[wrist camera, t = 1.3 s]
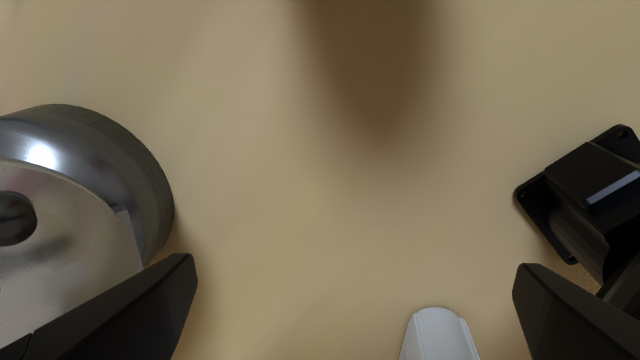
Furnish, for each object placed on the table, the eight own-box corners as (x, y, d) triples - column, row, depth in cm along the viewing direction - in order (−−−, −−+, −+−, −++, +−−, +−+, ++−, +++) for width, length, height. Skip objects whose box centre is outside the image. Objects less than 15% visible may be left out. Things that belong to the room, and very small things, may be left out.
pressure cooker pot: (152, 102, 21) (97, 125, 17) (188, 272, 26) (153, 326, 21) (-135, 107, 23) (-257, 129, 18) (-50, 266, 28) (-130, 315, 23)
